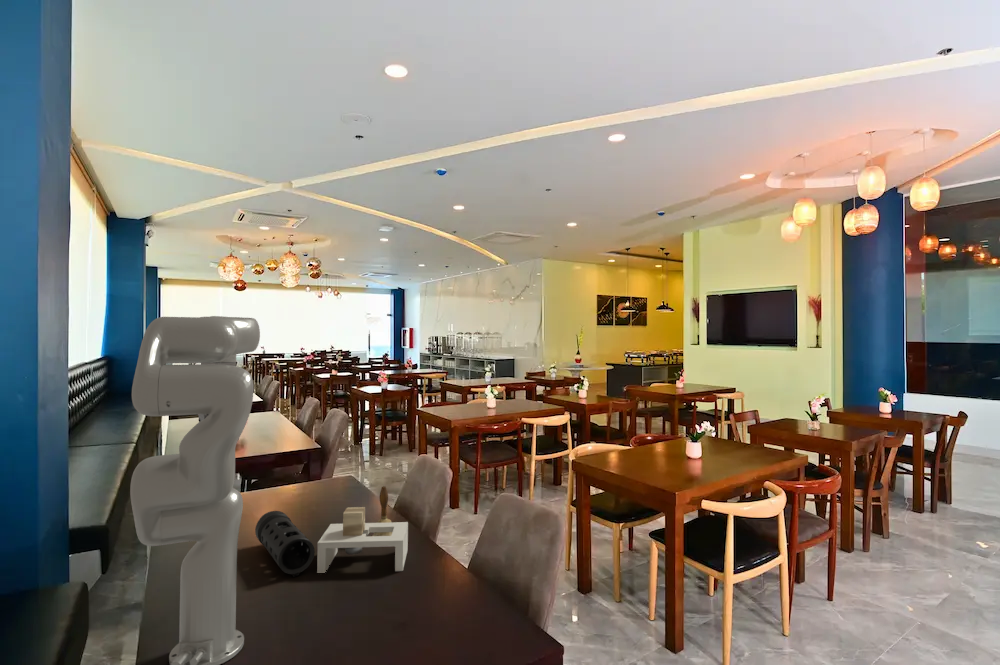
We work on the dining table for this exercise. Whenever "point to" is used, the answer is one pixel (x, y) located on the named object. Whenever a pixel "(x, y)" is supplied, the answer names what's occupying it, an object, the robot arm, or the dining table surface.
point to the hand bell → (383, 511)
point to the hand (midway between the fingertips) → (217, 440)
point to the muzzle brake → (284, 542)
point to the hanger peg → (353, 525)
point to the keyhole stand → (363, 542)
